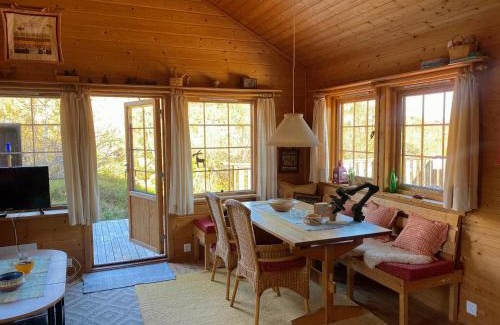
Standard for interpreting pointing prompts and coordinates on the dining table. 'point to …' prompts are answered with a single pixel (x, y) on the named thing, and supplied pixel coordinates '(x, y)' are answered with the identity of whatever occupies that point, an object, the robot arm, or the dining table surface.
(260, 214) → the dining table surface
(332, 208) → the walnut pillar
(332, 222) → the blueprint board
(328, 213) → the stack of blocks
